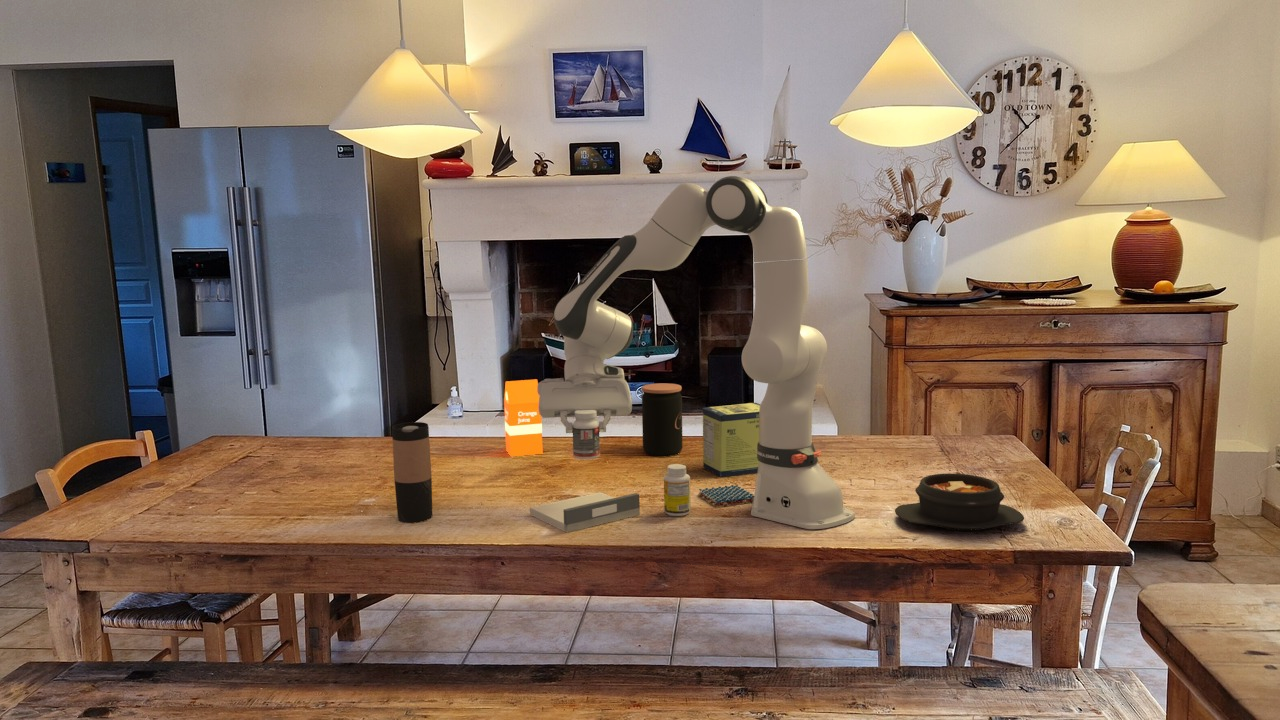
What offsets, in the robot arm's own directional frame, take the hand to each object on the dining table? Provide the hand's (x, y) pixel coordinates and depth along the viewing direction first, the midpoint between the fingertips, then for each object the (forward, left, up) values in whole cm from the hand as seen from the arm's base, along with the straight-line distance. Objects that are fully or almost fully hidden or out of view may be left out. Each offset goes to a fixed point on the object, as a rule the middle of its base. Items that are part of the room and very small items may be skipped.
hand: (586, 431), depth 198 cm
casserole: (-54, -54, -18) cm, 79 cm away
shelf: (-2, +2, -18) cm, 18 cm away
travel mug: (+20, +31, -18) cm, 41 cm away
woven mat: (-12, -29, -18) cm, 36 cm away
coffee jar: (+31, -44, -18) cm, 56 cm away
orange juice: (+55, -15, -18) cm, 59 cm away
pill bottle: (+1, 0, -6) cm, 6 cm away
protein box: (+5, -48, -18) cm, 51 cm away
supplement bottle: (-13, -14, -18) cm, 26 cm away
